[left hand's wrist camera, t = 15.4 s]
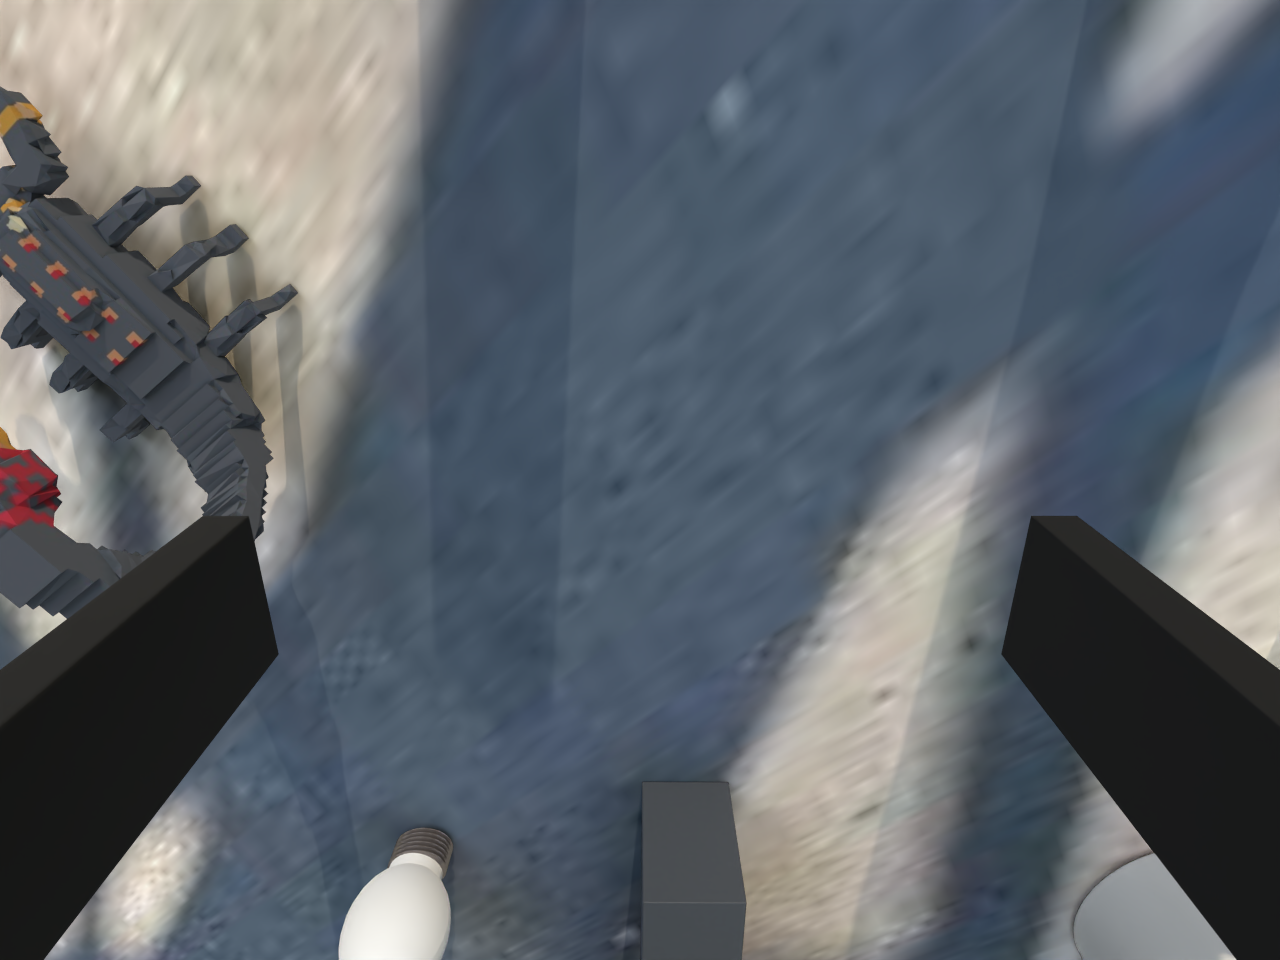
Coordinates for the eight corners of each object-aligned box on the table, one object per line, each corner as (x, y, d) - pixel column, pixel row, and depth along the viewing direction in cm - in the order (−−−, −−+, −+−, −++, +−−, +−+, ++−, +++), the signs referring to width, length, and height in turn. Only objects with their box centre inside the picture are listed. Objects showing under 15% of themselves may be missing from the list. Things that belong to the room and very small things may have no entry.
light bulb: (459, 806, 53) (415, 955, 43) (479, 875, 55) (442, 1031, 45) (367, 816, 53) (302, 966, 43) (391, 883, 56) (335, 1040, 46)
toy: (255, 547, 45) (23, 766, 28) (-145, 170, 37) (-800, 158, 20) (414, 421, 42) (263, 580, 25) (17, -18, 34) (-592, -216, 17)
